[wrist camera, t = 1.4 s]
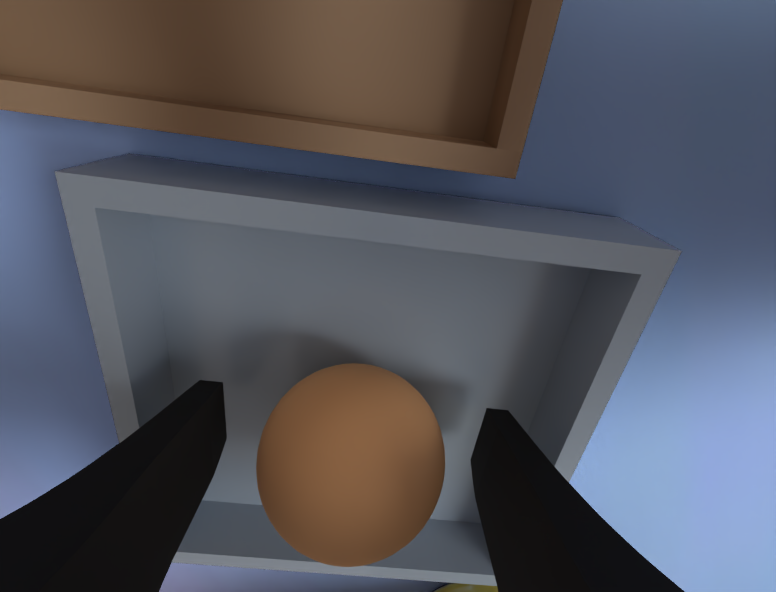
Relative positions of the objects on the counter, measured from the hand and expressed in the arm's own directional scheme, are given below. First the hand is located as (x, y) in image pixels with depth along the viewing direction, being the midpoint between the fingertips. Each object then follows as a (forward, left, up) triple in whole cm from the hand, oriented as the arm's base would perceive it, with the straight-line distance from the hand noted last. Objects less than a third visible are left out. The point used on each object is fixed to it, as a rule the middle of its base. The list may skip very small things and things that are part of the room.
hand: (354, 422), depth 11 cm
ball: (0, 0, +1) cm, 1 cm away
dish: (0, 0, -2) cm, 2 cm away
